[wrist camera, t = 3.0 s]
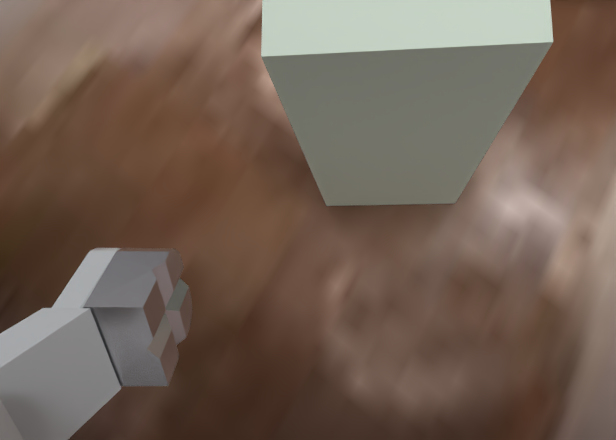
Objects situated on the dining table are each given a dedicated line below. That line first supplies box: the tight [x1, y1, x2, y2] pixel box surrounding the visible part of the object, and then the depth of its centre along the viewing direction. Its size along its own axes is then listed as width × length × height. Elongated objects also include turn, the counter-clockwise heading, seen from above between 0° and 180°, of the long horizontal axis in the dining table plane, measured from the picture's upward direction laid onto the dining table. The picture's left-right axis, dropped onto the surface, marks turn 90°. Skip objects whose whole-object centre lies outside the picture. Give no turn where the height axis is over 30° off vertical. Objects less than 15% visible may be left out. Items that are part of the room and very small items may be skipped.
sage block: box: [261, 0, 553, 206], centre depth 17 cm, size 5×5×13 cm
